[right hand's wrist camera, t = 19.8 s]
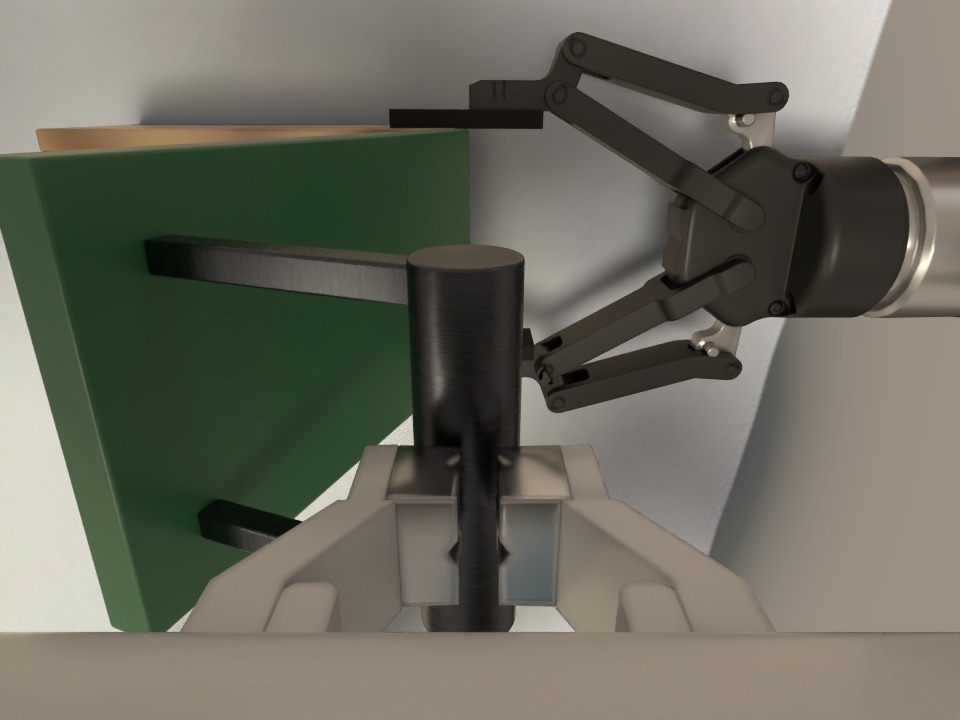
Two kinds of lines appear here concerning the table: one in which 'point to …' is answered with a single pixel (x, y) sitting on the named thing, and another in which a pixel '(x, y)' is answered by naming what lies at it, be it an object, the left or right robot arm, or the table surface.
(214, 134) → the chest
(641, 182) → the table surface
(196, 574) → the lid
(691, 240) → the left robot arm
